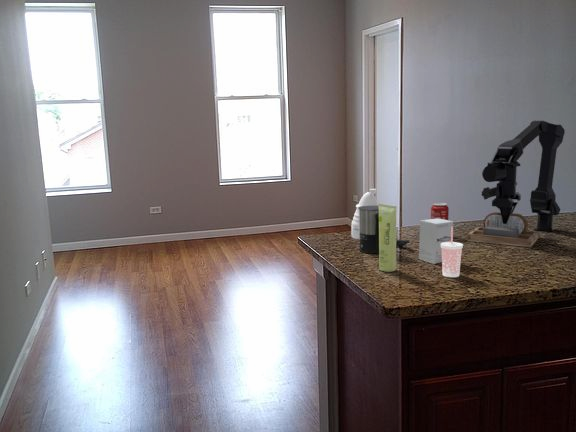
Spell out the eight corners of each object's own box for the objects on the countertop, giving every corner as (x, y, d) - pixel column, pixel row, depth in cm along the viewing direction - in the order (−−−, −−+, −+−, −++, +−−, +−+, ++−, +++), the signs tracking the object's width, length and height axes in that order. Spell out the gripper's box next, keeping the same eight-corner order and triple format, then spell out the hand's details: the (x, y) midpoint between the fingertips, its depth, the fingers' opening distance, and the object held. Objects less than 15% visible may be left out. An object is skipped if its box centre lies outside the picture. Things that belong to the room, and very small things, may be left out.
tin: (527, 237, 208) (528, 213, 207) (525, 238, 205) (527, 214, 204) (483, 233, 216) (485, 211, 215) (481, 234, 213) (483, 211, 212)
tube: (376, 271, 171) (376, 205, 168) (378, 267, 176) (378, 203, 172) (395, 272, 170) (396, 206, 166) (397, 268, 174) (398, 203, 171)
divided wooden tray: (477, 233, 219) (477, 226, 219) (537, 238, 208) (538, 231, 208) (467, 240, 207) (467, 234, 207) (530, 247, 196) (530, 239, 196)
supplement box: (434, 264, 177) (435, 223, 175) (418, 259, 184) (419, 219, 182) (452, 261, 181) (454, 221, 179) (436, 256, 187) (437, 217, 185)
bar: (518, 240, 203) (519, 229, 202) (515, 242, 200) (515, 231, 199) (486, 237, 210) (487, 226, 209) (483, 239, 207) (483, 228, 206)
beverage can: (446, 234, 219) (447, 202, 217) (449, 237, 213) (450, 205, 211) (429, 234, 220) (429, 202, 218) (431, 237, 214) (432, 205, 212)
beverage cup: (449, 279, 162) (450, 229, 160) (435, 273, 168) (436, 225, 165) (466, 276, 164) (468, 227, 162) (452, 271, 170) (453, 223, 167)
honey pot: (392, 235, 219) (393, 188, 216) (372, 241, 210) (373, 192, 207) (364, 231, 228) (364, 185, 225) (344, 237, 219) (344, 189, 215)
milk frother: (352, 250, 197) (352, 207, 195) (380, 242, 208) (380, 201, 206) (387, 257, 187) (388, 211, 185) (414, 248, 198) (415, 205, 196)
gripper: (490, 176, 219) (488, 217, 222) (477, 181, 204) (476, 225, 206) (521, 177, 213) (519, 219, 216) (511, 183, 198) (509, 228, 201)
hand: (505, 223), depth 210 cm, fingers open, 3 cm apart
